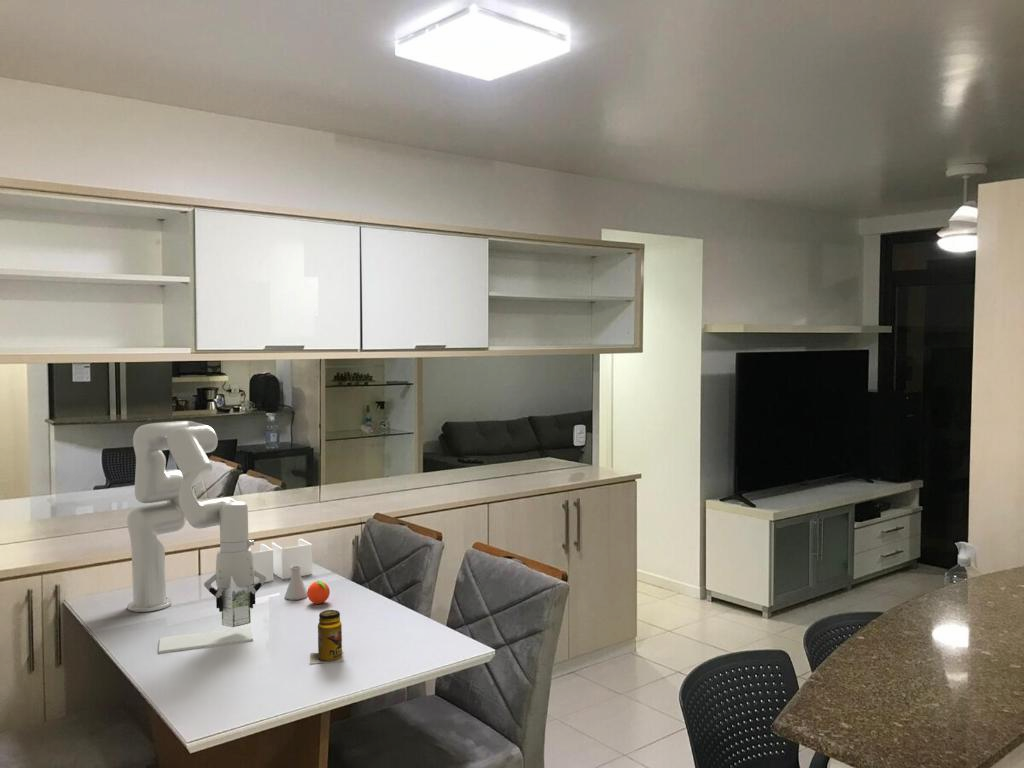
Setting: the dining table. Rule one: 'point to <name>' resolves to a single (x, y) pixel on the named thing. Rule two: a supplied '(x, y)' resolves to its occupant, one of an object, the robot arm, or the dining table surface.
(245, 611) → the syrup box
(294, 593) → the flask
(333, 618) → the condiment
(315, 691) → the dining table surface
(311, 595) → the clementine
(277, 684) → the dining table surface
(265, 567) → the white double bin
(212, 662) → the dining table surface
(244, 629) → the mat
